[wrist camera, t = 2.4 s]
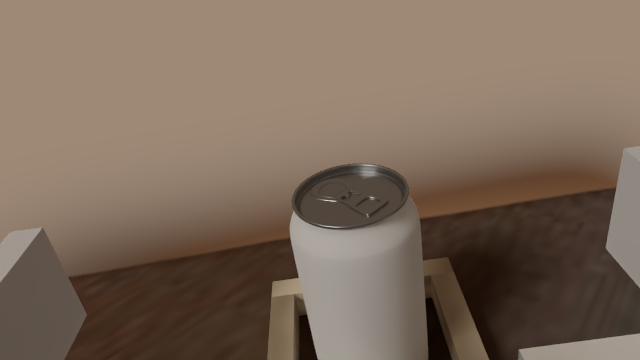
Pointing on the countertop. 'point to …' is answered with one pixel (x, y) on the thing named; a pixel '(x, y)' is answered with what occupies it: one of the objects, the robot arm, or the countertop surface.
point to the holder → (437, 285)
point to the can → (360, 264)
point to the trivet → (588, 350)
